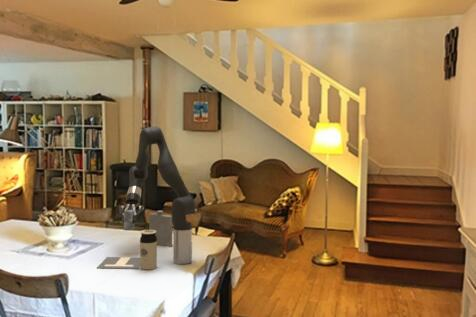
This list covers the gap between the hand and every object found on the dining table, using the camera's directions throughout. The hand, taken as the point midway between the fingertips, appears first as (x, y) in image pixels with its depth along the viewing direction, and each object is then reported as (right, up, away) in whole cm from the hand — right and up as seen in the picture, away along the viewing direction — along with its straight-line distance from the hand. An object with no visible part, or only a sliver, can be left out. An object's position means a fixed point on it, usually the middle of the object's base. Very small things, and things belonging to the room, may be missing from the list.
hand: (128, 222), depth 228 cm
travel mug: (+14, -20, -17) cm, 30 cm away
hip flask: (+13, -17, +23) cm, 31 cm away
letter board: (0, -19, -12) cm, 22 cm away
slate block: (0, -4, +2) cm, 5 cm away
